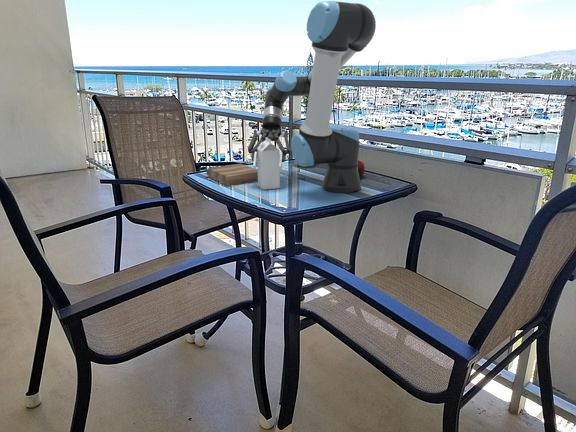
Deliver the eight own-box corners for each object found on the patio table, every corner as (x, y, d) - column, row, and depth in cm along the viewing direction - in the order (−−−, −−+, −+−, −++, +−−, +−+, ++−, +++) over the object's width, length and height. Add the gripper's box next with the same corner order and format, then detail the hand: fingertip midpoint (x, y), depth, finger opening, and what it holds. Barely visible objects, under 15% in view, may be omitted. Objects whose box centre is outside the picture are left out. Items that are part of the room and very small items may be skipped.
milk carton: (274, 184, 169) (274, 136, 163) (280, 188, 163) (279, 139, 156) (257, 185, 167) (256, 137, 160) (262, 190, 160) (261, 140, 154)
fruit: (357, 181, 174) (359, 157, 171) (338, 177, 180) (339, 154, 177) (368, 176, 181) (370, 154, 177) (350, 173, 186) (351, 151, 183)
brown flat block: (262, 180, 174) (261, 171, 173) (227, 186, 165) (227, 176, 164) (239, 171, 189) (239, 162, 188) (206, 176, 181) (206, 167, 179)
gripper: (299, 126, 171) (296, 173, 161) (246, 126, 173) (240, 172, 163) (298, 115, 164) (295, 163, 155) (244, 114, 166) (237, 162, 156)
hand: (267, 168), depth 159 cm, fingers closed on milk carton, 9 cm apart
